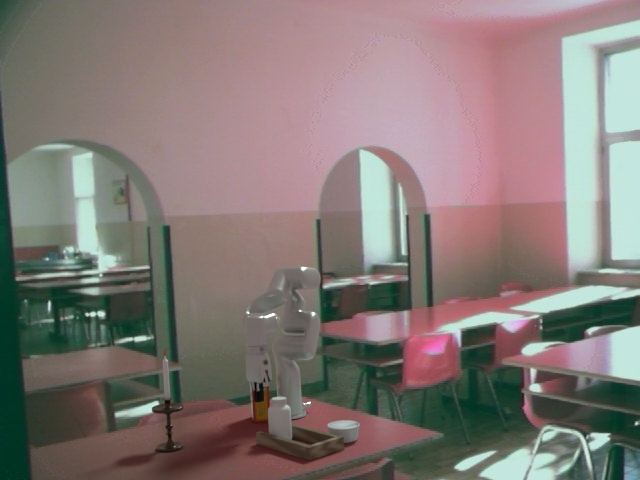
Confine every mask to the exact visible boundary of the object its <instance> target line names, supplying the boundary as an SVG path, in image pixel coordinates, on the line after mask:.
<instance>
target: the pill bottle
mask: <svg viewBox="0 0 640 480" xmlns="http://www.w3.org/2000/svg"><path fill="white" fill-rule="evenodd" d="M270 401H271V403H270V407H269V408H268V422H267V423H268V434H272V435H275V436H279V437H283V438H286V439H290V440H293V437H292V424H293V423H292V419H291V409H290V407H289V406H288V405H286V402H287V398H286V397H277V396H275V397H271V400H270Z"/></svg>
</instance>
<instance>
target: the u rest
mask: <svg viewBox="0 0 640 480" xmlns="http://www.w3.org/2000/svg"><path fill="white" fill-rule="evenodd" d="M291 424H292V440H290V439H286V438H283V437H279V436H275V435H272V434H269V432H268V433H267V432H264V431H258V432H255V437H256V445H259V446H261V447H265V448H268V449H271V450H273V451H278V452H281V453H284V454H287V455H291V456H295V457H296V458H300V459H303V460H307V461H313V460H316V459H319V458H323V457H325V456H328V455H331V454H333V453H336V452H339V451H343V450H345V443H344V437H343V436H339V435H335V434H331V433H329V432H326V431H323V430H319V429H314V428H311V427H306V426H303V425H299V424H295V423H291ZM293 439H297V440H300V441H305V442H309V443H312V444H307V443H304V442H300V441H296V440H293Z"/></svg>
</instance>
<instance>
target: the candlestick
mask: <svg viewBox="0 0 640 480" xmlns="http://www.w3.org/2000/svg"><path fill="white" fill-rule="evenodd" d="M167 348H168V347H165V349H164V352H163V356H164V357H163V360H162V373H163V374H162V375H163V377H162V379H163V392H164V397H163V398H162V399H161V401H164V403H161V404H157V405H154V406H152V407H151V412H152V413H153V414H164V415H165V416H166V425H164V428H165V430H166V433H165V435H166V436H167V441H166V442H163V443H160V444H159V445H157V446H156V451H157V452H159V453H171V452H172V453H173V452H177V451H181V450H182V449H184V446H185V445H184V443H183V442H182V441H174V440H173V438H172V437H173V434H174V432H173V431H172V430H173V428H174V425H173V423H172V419H171V414H173V413H177V412H180V411H183V410H184V409H185V404H184V403H181V402H172V401H171V400H174V398H173V397H171V390H170V389H171V388H170V387H171V386H170V376H169V375H170V373H169V370H170V369H169V359H167V356H166V355H167V350H168V349H167Z"/></svg>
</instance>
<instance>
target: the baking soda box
mask: <svg viewBox="0 0 640 480" xmlns="http://www.w3.org/2000/svg"><path fill="white" fill-rule="evenodd" d="M249 395H250V411H251V412H250V413H251V419H252V422H253V424H257V423H259V424H260V423H265V422H266V423H268V408H269V407H270V406H271V403H270V401H271V400H270V385H269V386H266V387H265V390H264V401H262V402H255V401H254V391H253V387H252V385H251V384H249Z"/></svg>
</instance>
